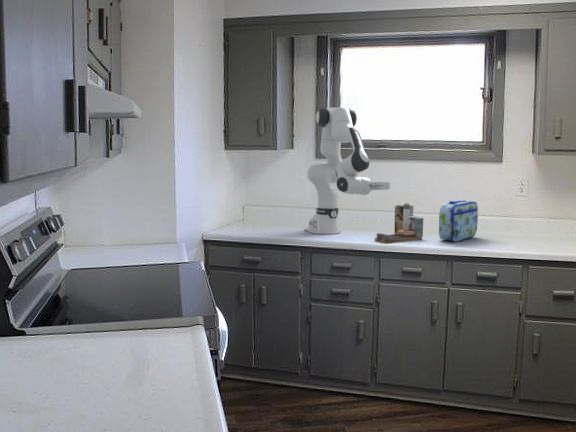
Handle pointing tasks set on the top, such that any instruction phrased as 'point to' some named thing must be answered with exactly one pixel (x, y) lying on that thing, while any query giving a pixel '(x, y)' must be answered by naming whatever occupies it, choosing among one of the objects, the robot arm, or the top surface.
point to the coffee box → (400, 217)
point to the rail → (414, 225)
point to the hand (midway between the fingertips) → (380, 187)
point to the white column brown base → (406, 221)
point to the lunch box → (458, 220)
